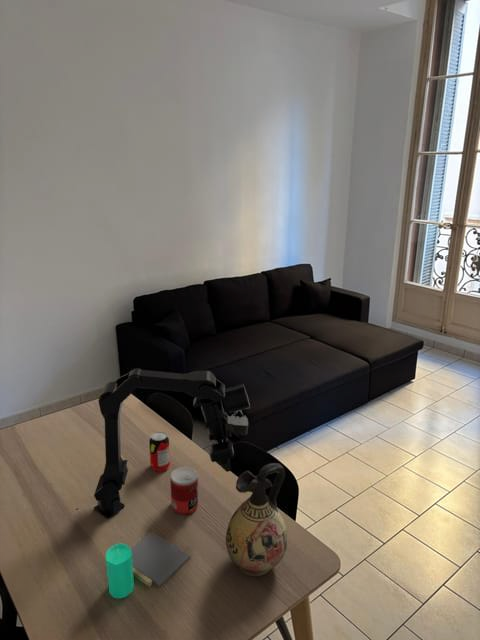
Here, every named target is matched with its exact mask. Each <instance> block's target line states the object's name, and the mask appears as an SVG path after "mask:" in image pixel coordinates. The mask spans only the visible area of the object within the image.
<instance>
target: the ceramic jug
mask: <svg viewBox="0 0 480 640" xmlns="http://www.w3.org/2000/svg"><path fill="white" fill-rule="evenodd" d="M274 473H276V476H275V479H274V482H273V483H272V481H271V480H270V479H268V476H269V475H271V474H274ZM285 478H286V471H285V469H284V466H283V465H282V464H280V463H277V462H270V463H266V464H265V465H263V467H261V468H260V469H259V472H258V474H257V475H254V474H253V472H251V471H249V470H245V471H243V472H242V473H240V474H239V476H238V478H237V479H236V482H235V489H236V491H237V492H239V493H241V494H246V493H252V494H251V495H250V496H249V497H248V498H246V500H244V501H243V502H242V503H241V504H240V506H238V507H237V509H235V511H234V512H233V514H232V516H231V517H230V519H229V522H228V525H227V527H226V529H227V530H226V533H225V534H226V535H225V546H226V551H227V554H228V555H229V557H230V559H231V561H232V562H233V563H234V564H235V565H236V567H237V568H238V569H239V570H240V571H241V572H242V573H243V574H245V575H247V576H251V577H259V576H263V575H265V574H266V573H269V572H270V571H271V570H272V569H274V568H275V567H276V566H278V565H279V563H280V562H281V561H282V560H283V558H284V557H285V554H286V551H287V549H288V532H287V531H288V530H287V526H286V523H285V520H284V519H283V517H282V515H281V513H280V511H279V510H278V506H277V497H278V495H279V493H280V490H281V487H282V485H283V483H284V480H285ZM267 489H270V491H269V492H268V494H267V492H266V490H267Z"/></svg>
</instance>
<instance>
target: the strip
mask: <svg viewBox="0 0 480 640" xmlns="http://www.w3.org/2000/svg"><path fill="white" fill-rule="evenodd" d="M133 577H135V578H136V579H138V580H139V581H140V582H141V583H143V584H145V586H147V587H148V588H150V587H151V586H152V585H153V582H152V580H151V579H149V578H148V577H147V576H145V575H144V574H142V573H141V572H140V571H138V570H137V569H135V568H134V567H133Z"/></svg>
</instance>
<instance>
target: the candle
mask: <svg viewBox="0 0 480 640" xmlns="http://www.w3.org/2000/svg"><path fill="white" fill-rule="evenodd" d="M105 564H106V572H107V583H108V591H109V592H108V593H109V595H110V596H111V597H112V598H115V599H124V598H126V597H128V596H129V595H130V594H132V592H133V590H134V588H135V582H134V580H135V579H134V575H133V564H132V552H131V547H130V546H129V545H128V544H125V543H121V542H120V543H117V544H114V545H112V546H111V547H109V548H108V549H107V550H106V553H105Z"/></svg>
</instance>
